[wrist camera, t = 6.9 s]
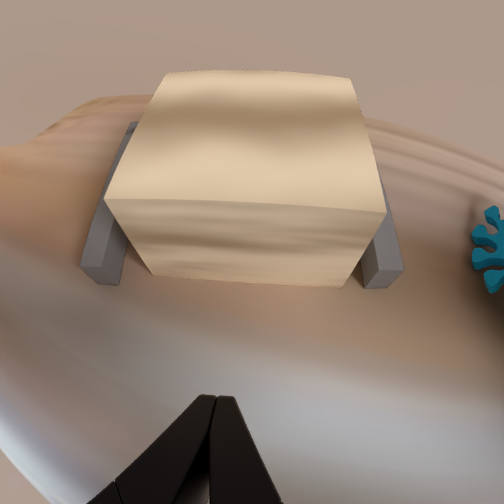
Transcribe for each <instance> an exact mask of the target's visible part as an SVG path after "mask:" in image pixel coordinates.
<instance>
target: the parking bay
mask: <svg viewBox="0 0 504 504" xmlns="http://www.w3.org/2000/svg"><path fill="white" fill-rule="evenodd" d="M138 123H139V121H137V122H131V123H130V125H129V127H128V130H127V132H126V134H125V136H124V139H123V141H122V143H121V145H120V148H119V150H118V153H117V155H116V157H115V160H114V162H113V165H112V167H111V170H110V172H109V175H108V178H107V180H106V183H105V186H104V188H103V191H102V194H101V197H100V200H99V202H98V205H97V208H96V211H95V214H94V217H93V221H92V224H91V227H90V230H89V233H88V237H87V240H86V244H85V247H84V251H83V254H82V258H81V262H80V267H81V268H82V269H83V270H84V271H85V272H86V273H87V274H88V275H89V276H90V277H91V278H92V279H93V280H94V281H95V282H96V283H98V284H108V285H119V281H120V276H121V271H122V266H123V261H124V257H125V252H126V248H127V243H128V237H127V236H126V234H125V233H124V231H123V230H122V228H121V226H120V225H119V223H118V222H117V220H116V219H115V217H114V215H113V214H112V212H111V210H110V209H109V207H108V206H107V204H106V202H105V201H104V196H105V194H106V191H107V189H108V187H109V184H110V182H111V180H112V177H113V175H114V173H115V170H116V168H117V166H118V164H119V162H120V159H121V157H122V155H123V153H124V151H125V149H126V147H127V145H128V143H129V141H130V139H131V137H132V135H133V133H134V131H135V129H136V127H137V125H138ZM376 166H377V165H376ZM377 170H378V168H377ZM378 174H379V171H378ZM379 178H380V182H381V187H382V191H383V196H384V200H385V205H386V210H387V214H386V216H385V217H384V219H383V221H382V223H381V224H380V226H379V228H378V230H377V231H376V233H375V235H374V236H373V238H372V240H371V242H370V243H369V245H368V247H367V248H366V250H365V251H364V253H363V255H362V256H361V258H360V262H361V268H362V275H363V282H364V288H388V286H389V285H390V284H391V283H392V282H393V281H394V280H395V279H396V278H397V277H398V276H399V275H400V274H401V273H402V271H403V270H404V267H403V262H402V258H401V253H400V249H399V244H398V240H397V236H396V232H395V227H394V224H393V220H392V216H391V212H390V208H389V205H388V201H387V198H386V194H385V191H384V187H383V184H382V181H381V177H380V174H379Z"/></svg>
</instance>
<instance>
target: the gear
mask: <svg viewBox="0 0 504 504" xmlns="http://www.w3.org/2000/svg"><path fill="white" fill-rule="evenodd" d="M484 213H485V218H486V221H487V223H488V224H491V225H493V226H494V227H495V228H496V229H497V230H498V233H497V234H495V235H490V234H488V233H487V230H486V228H485V226H483V225H477V226H476V227H475V229H474V230H473V232H472V234H471V235H472V239H473V242H474V243H475V244H477V245H487V246H490V247H492V248H493V249H495V250H496V251H495V252H494V253H488V252H486V251H485V250H484V249H482V248H475V249H473V252H472V263H473V268H474V269H476V270H480V269H482V268H484V267H487V266H491V265H498V266H503V267H504V220H500V215H499V209H498V207H496V206H492V207H490V208H488V209H487V210H485V211H484ZM484 279H485V285H486V287H487V289H488V291H489V292H490V293H495V292H497V291H498V290H499V288H500V287H501V286H502V285H503V284H504V270H501V271H498V270H488V271H486V272H485V273H484Z"/></svg>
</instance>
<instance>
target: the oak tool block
mask: <svg viewBox="0 0 504 504" xmlns="http://www.w3.org/2000/svg"><path fill="white" fill-rule="evenodd" d="M104 201H105V202H106V204H107V206H108V207H109V209H110V210H111V212H112V214H113V215H114V217H115V219H116V220H117V222H118V223H119V225H120V226H121V228H122V230H123V231H124V233H125V234H126V236H127V237H128V239H129V240H130V242H131V244H132V245H133V247H134V248H135V250H136V251H137V253H138V254H139V256H140V257H141V259H142V260H143V261H144V263H145V264H146V266H147V267H148V269H149V270H150V272H151V273H152V275H155V276H167V277H178V278H191V279H203V280H217V281H231V282H245V283H260V284H277V285H294V286H313V287H334V288H342V286H343V285H344V283H345V282H346V280H347V279H348V277H349V276H350V274H351V272H352V271H353V269H354V268H355V266H356V264H357V263H358V261H359V260H360V258H361V256H362V255H363V253H364V251H365V250H366V248H367V247H368V245H369V243H370V242H371V240H372V238H373V236H374V235H375V233H376V231H377V230H378V228H379V226H380V224H381V223H382V221H383V219H384V217H385V216H386V214H387V210H386V205H385V200H384V196H383V191H382V187H381V182H380V178H379V174H378V170H377V166H376V162H375V158H374V154H373V150H372V147H371V143H370V139H369V136H368V132H367V129H366V126H365V122H364V119H363V116H362V113H361V110H360V106H359V103H358V101H357V98H356V94H355V92H354V89H353V86H352V83H351V80H350V79H348V78H341V77H334V76H325V75H317V74H307V73H295V72H281V71H262V70H209V71H188V72H174V73H167V74H166V75H165V77H164V79H163V80H162V82H161V84H160V86H159V87H158V89H157V91H156V92H155V94H154V96H153V97H152V99H151V101H150V103H149V105H148V106H147V108H146V110H145V112H144V114H143V116H142V117H141V119H140V121H139V123H138V125H137V127H136V129H135V131H134V133H133V135H132V137H131V139H130V141H129V143H128V145H127V147H126V149H125V151H124V153H123V155H122V157H121V159H120V162H119V164H118V166H117V168H116V170H115V173H114V175H113V177H112V180H111V182H110V184H109V187H108V189H107V191H106V194H105V196H104Z"/></svg>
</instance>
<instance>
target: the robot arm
mask: <svg viewBox="0 0 504 504" xmlns="http://www.w3.org/2000/svg"><path fill="white" fill-rule="evenodd" d="M208 498H210V504H284V503H283V502H281V498H280V496H279V494H278V492H277V490H276V488H275V486H274V484H273V482H272V480H271V478H270V475H269V473H268V471H267V469H266V467H265V465H264V463H263V461H262V459H261V456H260V454H259V452H258V450H257V448H256V445H255V443H254V441H253V439H252V437H251V434H250V432H249V430H248V428H247V425H246V423H245V421H244V418H243V416H242V414H241V411H240V409H239V407H238V404H237V402H236V400H235V398H234V397H233V396H218V397H216V396H215V395H205V394H201V395H199V396H198V397H197V398H196V399H195V400H194V401H193V402H192V403H191V404H190V405H189V407H188V408H187V409H186V410H185V411H184V412H183V413H182V414H181V415H180V416H179V417H178V418H177V419H176V420H175V421H174V422H173V423H172V424H171V425H170V426H169V427H168V428H167V429H166V430H165V431H164V432H163V433H162V434H161V435H160V436H159V437H158V438H157V439H156V440H155V441H154V442H153V443H152V444H151V445H150V446H149V447H148V448H147V449H146V450H145V451H144V452H143V453H142V454H141V455H140V456H139V457H138V458H137V459H136V460H135V461H134V462H133V463H132V464H131V465H129V466H128V467H127V468H126V469H125V470H124V471H123V472H122V473H121V474H120V475H119V476H118V477H117V478H116V479H115V482H114V481H112V482H111V483H110V484H109V485H108V486H107V487H106V488H105V489H103V490H102V491H101V492H100V493H99V494H98V495H96V496H95V497H94V498H93V499H92V500H90V501H89V502H88V503H87V504H207V502H208Z"/></svg>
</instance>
